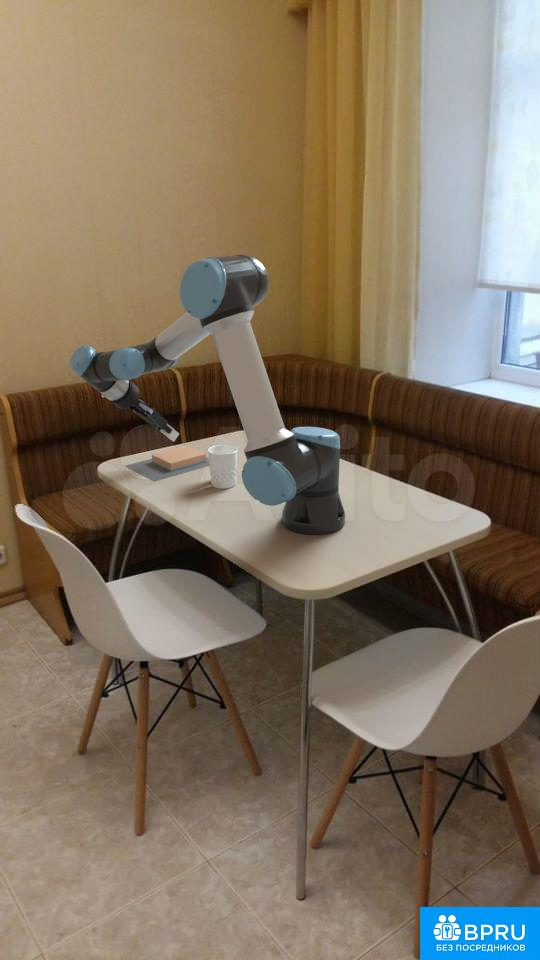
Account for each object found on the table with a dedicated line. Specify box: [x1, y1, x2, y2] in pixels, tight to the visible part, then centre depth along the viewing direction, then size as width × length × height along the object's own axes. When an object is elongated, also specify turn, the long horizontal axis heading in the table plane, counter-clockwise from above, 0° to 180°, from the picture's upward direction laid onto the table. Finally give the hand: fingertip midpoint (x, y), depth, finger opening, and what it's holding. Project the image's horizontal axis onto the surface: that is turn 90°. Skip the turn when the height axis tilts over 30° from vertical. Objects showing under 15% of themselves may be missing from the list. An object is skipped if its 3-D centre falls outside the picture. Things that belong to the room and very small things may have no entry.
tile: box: [151, 445, 207, 472], centre depth 219 cm, size 2×10×12 cm
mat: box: [124, 456, 209, 482], centre depth 218 cm, size 22×16×1 cm
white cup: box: [207, 444, 238, 490], centre depth 203 cm, size 8×8×10 cm
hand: (175, 437), depth 216 cm, fingers closed
